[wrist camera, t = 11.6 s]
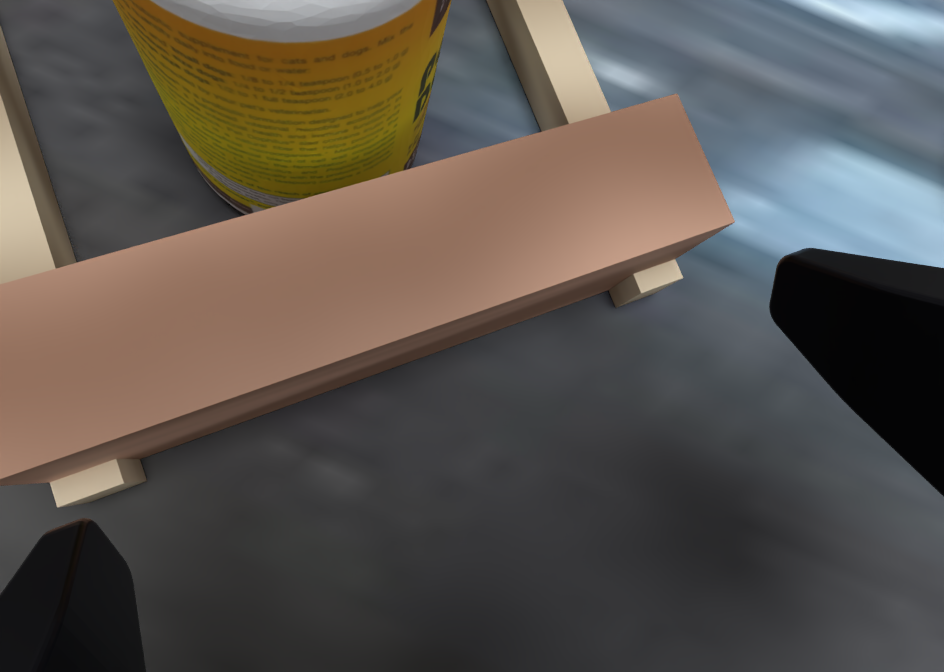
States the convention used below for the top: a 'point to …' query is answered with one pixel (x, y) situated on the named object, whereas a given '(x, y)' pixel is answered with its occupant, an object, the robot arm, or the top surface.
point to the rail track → (330, 271)
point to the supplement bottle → (291, 88)
